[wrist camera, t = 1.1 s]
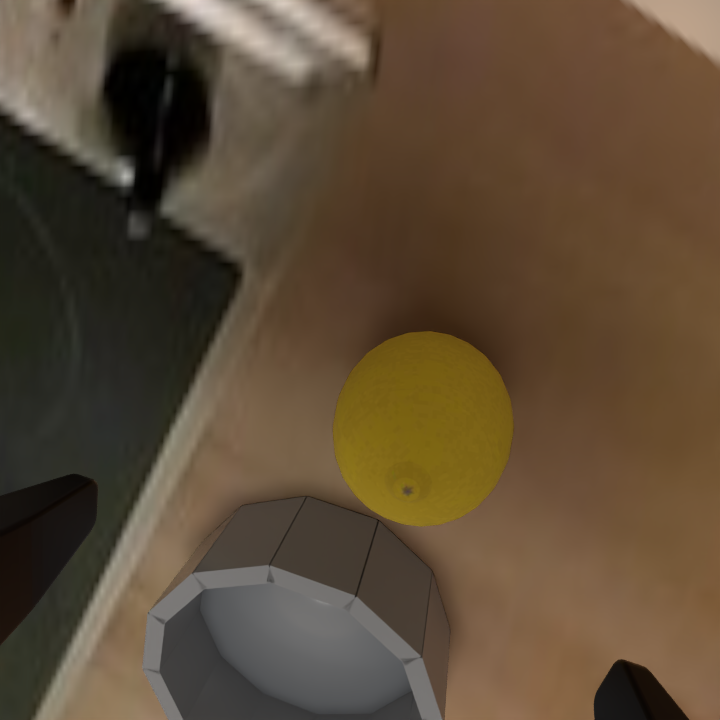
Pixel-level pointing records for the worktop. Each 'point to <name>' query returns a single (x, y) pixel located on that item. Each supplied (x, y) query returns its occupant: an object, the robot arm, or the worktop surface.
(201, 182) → the worktop surface
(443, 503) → the lemon
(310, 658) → the bowl
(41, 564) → the robot arm
